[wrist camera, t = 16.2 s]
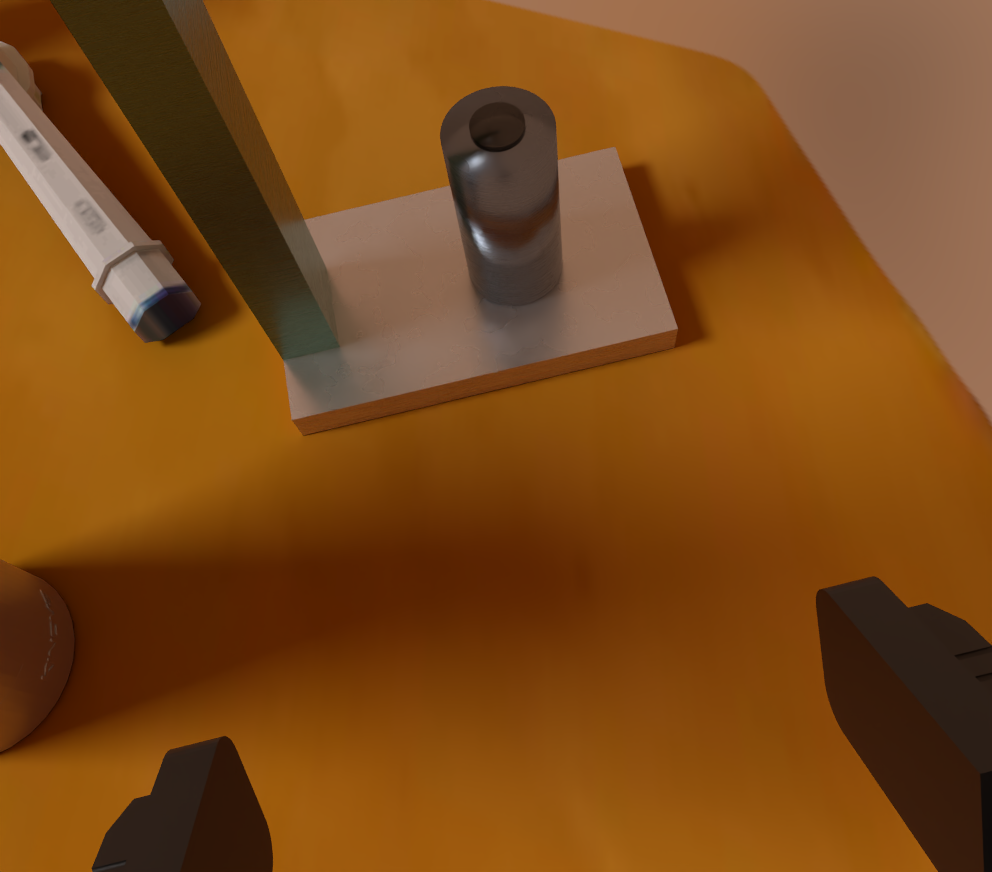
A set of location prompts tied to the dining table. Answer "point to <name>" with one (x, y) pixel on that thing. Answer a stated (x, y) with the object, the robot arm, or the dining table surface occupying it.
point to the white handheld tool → (90, 212)
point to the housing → (506, 192)
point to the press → (367, 243)
